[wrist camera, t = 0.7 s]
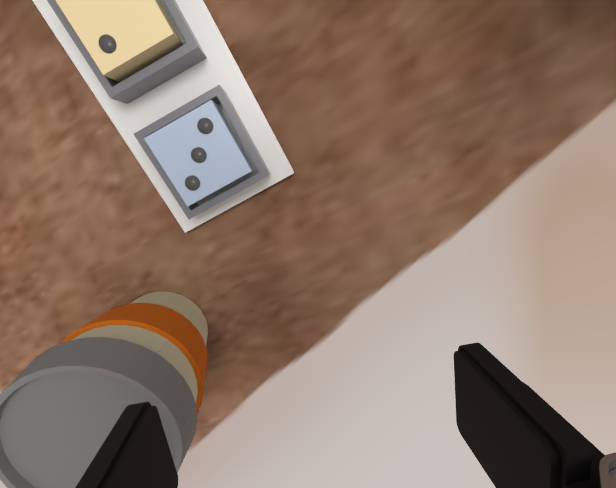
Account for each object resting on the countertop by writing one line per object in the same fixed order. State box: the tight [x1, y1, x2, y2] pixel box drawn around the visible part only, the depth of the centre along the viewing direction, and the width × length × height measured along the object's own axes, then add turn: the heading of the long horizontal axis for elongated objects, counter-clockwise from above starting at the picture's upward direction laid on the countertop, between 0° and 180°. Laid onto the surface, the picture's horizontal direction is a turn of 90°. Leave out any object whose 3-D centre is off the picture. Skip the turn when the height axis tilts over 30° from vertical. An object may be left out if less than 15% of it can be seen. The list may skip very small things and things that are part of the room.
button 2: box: [56, 0, 184, 82], centre depth 25 cm, size 6×6×3 cm
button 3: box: [144, 100, 254, 207], centre depth 28 cm, size 6×6×3 cm
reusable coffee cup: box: [0, 291, 208, 488], centre depth 29 cm, size 13×13×15 cm
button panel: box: [32, 0, 294, 233], centre depth 27 cm, size 12×32×4 cm, turn 28°
